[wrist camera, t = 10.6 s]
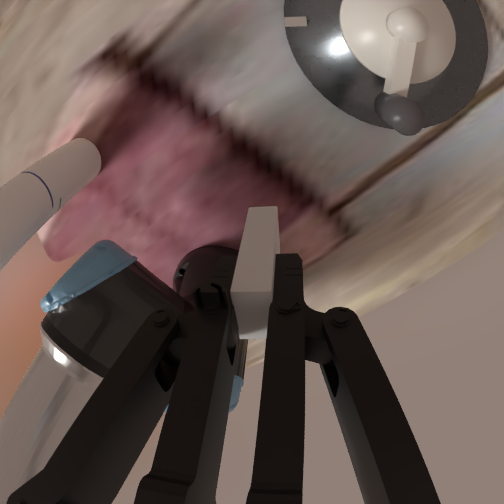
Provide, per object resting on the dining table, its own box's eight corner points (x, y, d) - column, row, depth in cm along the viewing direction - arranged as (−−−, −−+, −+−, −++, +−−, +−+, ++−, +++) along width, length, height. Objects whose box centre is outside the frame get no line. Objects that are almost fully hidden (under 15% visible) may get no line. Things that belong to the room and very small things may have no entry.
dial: (344, -41, 22) (359, -61, 16) (456, -3, 21) (489, -8, 15) (325, 105, 33) (335, 119, 27) (432, 132, 33) (461, 152, 26)
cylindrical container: (100, 138, 40) (-26, 233, 19) (103, 182, 44) (-2, 293, 24) (62, 137, 40) (-60, 224, 19) (67, 179, 44) (-38, 278, 24)
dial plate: (476, 133, 33) (484, 138, 31) (293, 125, 37) (293, 129, 35) (470, -39, 18) (478, -42, 17) (272, -66, 22) (271, -72, 20)
